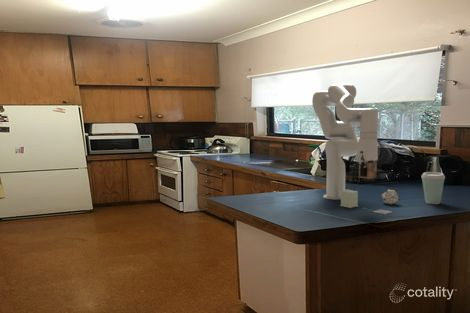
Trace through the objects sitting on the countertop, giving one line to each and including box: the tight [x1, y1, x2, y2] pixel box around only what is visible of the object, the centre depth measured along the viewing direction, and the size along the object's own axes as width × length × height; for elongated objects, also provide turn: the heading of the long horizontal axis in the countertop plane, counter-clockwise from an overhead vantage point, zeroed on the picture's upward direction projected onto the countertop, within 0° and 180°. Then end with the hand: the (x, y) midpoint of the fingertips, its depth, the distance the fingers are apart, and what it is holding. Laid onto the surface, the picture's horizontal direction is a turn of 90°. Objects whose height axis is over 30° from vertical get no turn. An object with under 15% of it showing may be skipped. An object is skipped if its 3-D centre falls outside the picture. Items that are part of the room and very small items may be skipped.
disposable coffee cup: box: [421, 171, 446, 205], centre depth 196 cm, size 11×11×15 cm
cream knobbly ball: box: [379, 187, 401, 206], centre depth 193 cm, size 9×8×10 cm
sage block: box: [340, 189, 359, 208], centre depth 189 cm, size 6×6×7 cm
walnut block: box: [358, 161, 378, 180], centre depth 180 cm, size 6×6×7 cm
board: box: [339, 204, 394, 216], centre depth 182 cm, size 14×24×1 cm, turn 39°
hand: (367, 175), depth 180 cm, fingers closed on walnut block, 5 cm apart
